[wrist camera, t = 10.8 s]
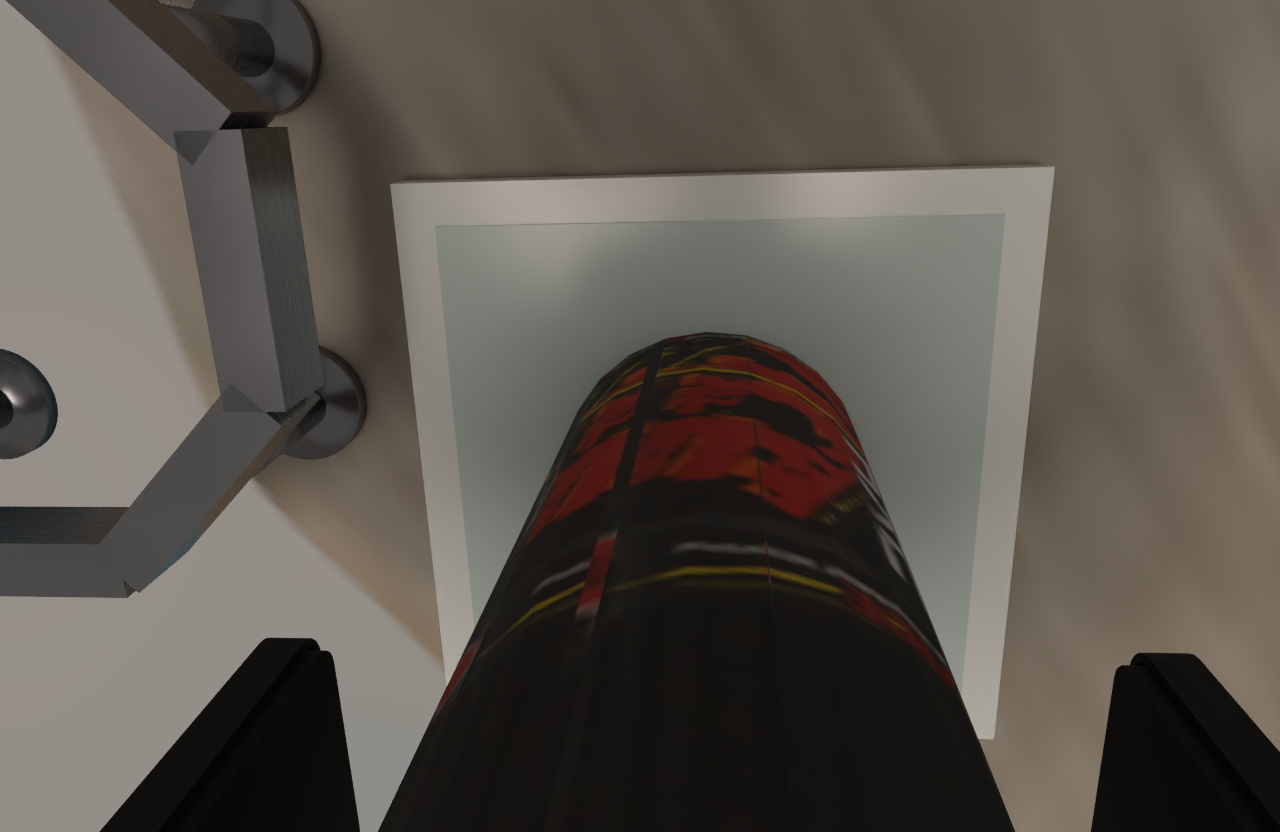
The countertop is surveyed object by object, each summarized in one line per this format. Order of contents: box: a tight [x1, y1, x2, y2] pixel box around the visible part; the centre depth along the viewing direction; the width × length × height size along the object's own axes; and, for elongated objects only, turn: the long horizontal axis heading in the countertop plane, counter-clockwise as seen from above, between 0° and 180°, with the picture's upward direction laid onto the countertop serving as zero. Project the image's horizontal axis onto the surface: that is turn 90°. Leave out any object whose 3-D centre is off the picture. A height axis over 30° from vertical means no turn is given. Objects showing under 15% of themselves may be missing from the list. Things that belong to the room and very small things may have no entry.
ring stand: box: [0, 0, 366, 598], centre depth 17 cm, size 11×11×5 cm
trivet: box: [390, 164, 1055, 739], centre depth 19 cm, size 12×12×1 cm
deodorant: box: [378, 332, 1015, 832], centre depth 12 cm, size 6×6×15 cm
